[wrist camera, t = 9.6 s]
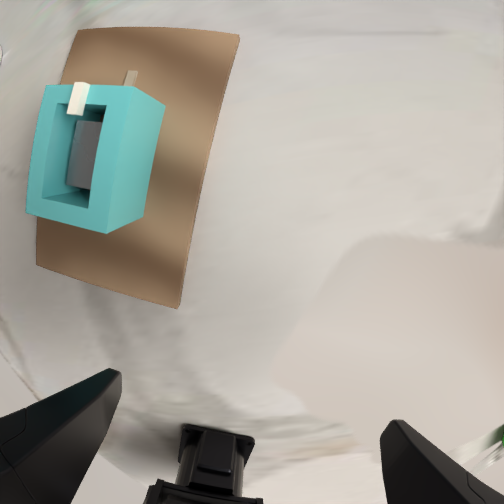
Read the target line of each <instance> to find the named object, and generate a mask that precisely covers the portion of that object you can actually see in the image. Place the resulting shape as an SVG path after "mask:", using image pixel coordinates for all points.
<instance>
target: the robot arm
mask: <svg viewBox="0 0 504 504" xmlns="http://www.w3.org/2000/svg"><path fill="white" fill-rule="evenodd" d="M121 393H122V375H121V372H119V371H117V370H114V369H111V368H108V369H106V370H104V371H102V372H99V373H97V374H95V375H93V376H91V377H89V378H87V379H85V380H83V381H81V382H79V383H77V384H75V385H73V386H71V387H68V388H66V389H64V390H62V391H60V392H58V393H56V394H54V395H51V396H49V397H47V398H45V399H43V400H41V401H38V402H36V403H34V404H32V405H30V406H28V407H27V408H23V409H21V410H19V411H16V412H14V413H11V414H9V415H6V416H4V417H1V418H0V504H71V502H72V500H73V498H74V496H75V494H76V492H77V490H78V488H79V486H80V484H81V482H82V480H83V478H84V476H85V474H86V472H87V470H88V468H89V466H90V464H91V462H92V460H93V459H94V457H95V455H96V453H97V451H98V449H99V447H100V445H101V443H102V442H103V440H104V438H105V436H106V434H107V431H108V428H109V426H110V423H111V420H112V418H113V415H114V413H115V410H116V407H117V405H118V402H119V400H120V397H121ZM254 445H255V440H254V439H253V438H251V437H245V436H239V435H234V434H228V433H223V432H218V431H214V430H209V429H205V428H200V427H196V426H192V425H184V427H183V431H182V437H181V444H180V450H179V457H178V462H179V463H180V466H179V470H178V474H177V478H176V482H175V484H173V483H169V482H165V481H164V480H161V479H157V482H156V484H155V485H150V486H149V488H148V492H147V495H146V498H145V500H144V503H143V504H263V498H246V497H242V486H243V470H244V467H245V465H246V463H247V461H248V459H249V456H250V454H251V452H252V449H253V447H254ZM380 449H381V460H382V473H383V480H384V486H385V492H386V498H387V504H504V496H503V495H502V494H500V493H499V492H497V491H495V490H494V489H492V488H490V487H489V486H487V485H486V484H484V483H483V482H481V481H480V480H478V479H477V478H476V477H474V476H473V475H472V474H470V473H469V472H468V471H466V470H465V469H464V468H463V467H461V466H460V465H459V464H457V463H456V462H455V461H454V460H452V459H451V458H450V457H449V456H447V455H446V454H445V453H443V452H442V451H441V450H440V449H438V448H437V447H436V446H435V445H433V444H432V443H431V442H430V441H428V440H427V439H426V438H425V437H423V436H422V435H421V434H420V433H418V432H417V431H416V430H415V429H413V428H412V427H411V426H410V425H408V424H407V423H406V422H405V421H404V420H392V421H390V423H389V424H388V426H387V427H386V429H385V430H384V431H383V433H382V434H381V437H380Z"/></svg>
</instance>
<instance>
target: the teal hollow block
mask: <svg viewBox="0 0 504 504" xmlns="http://www.w3.org/2000/svg"><path fill="white" fill-rule="evenodd" d="M165 107H166V106H165V105H164V104H162V103H160V102H159V101H157V100H156V99H154V98H152V97H151V96H149V95H147V94H146V93H144V92H143V91H141V90H139V89H138V88H136V87H134V86H117V85H90V84H88V83H85V82H75V83H74V85H46V88H45V91H44V95H43V99H42V103H41V107H40V112H39V116H38V121H37V126H36V131H35V136H34V142H33V148H32V154H31V161H30V169H29V177H28V187H27V198H26V213H28V214H32V215H35V216H39V217H43V218H47V219H50V220H54V221H58V222H62V223H66V224H70V225H74V226H77V227H81V228H85V229H89V230H93V231H97V232H101V233H105V234H107V233H109V232H111V231H114V230H116V229H118V228H120V227H122V226H124V225H127V224H129V223H131V222H133V221H135V220H138V219H140V218H142V217H143V214H144V208H145V202H146V196H147V190H148V185H149V179H150V174H151V169H152V164H153V159H154V154H155V150H156V145H157V140H158V136H159V132H160V127H161V123H162V119H163V115H164V111H165ZM101 115H104V119H103V124H102V128H101V133H100V138H99V143H98V148H97V153H96V158H95V164H94V170H93V176H92V183H91V190H87V189H85V188H80V187H75V186H70V185H66V181H67V174H68V167H69V161H70V155H71V149H72V144H73V139H74V134H75V129H76V124H77V120H82V121H93V122H100V118H101Z"/></svg>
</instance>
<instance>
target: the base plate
mask: <svg viewBox="0 0 504 504" xmlns="http://www.w3.org/2000/svg"><path fill="white" fill-rule="evenodd" d="M239 41H240V37H239V35H237V34H230V33H223V32H215V31H207V30H197V29H185V28H168V27H112V28H96V29H84V30H78V32H77V34H76V37H75V39H74V42H73V45H72V48H71V50H70V53H69V56H68V59H67V62H66V65H65V68H64V72H63V75H62V78H61V82H60V85H74V83H75V82H85V83H88V84H90V85H117V86H134V87H136V88H138V89H139V90H141V91H143V92H144V93H146V94H147V95H149V96H151V97H152V98H154V99H156V100H157V101H159V102H160V103H162V104H164V105H165V106H166V107H165V111H164V115H163V119H162V123H161V127H160V132H159V136H158V140H157V145H156V150H155V154H154V159H153V164H152V169H151V174H150V179H149V185H148V190H147V196H146V202H145V208H144V214H143V217H142V218H140V219H138V220H135V221H133V222H131V223H129V224H127V225H124V226H122V227H120V228H118V229H116V230H114V231H111V232H109V233H107V234H105V233H101V232H97V231H93V230H89V229H85V228H81V227H77V226H74V225H70V224H66V223H62V222H58V221H54V220H50V219H47V218H43V217H39V216H37V239H36V265H38V266H41V267H43V268H46V269H49V270H52V271H55V272H57V273H60V274H63V275H66V276H69V277H72V278H75V279H78V280H81V281H84V282H87V283H90V284H93V285H96V286H99V287H102V288H106V289H109V290H112V291H115V292H119V293H122V294H125V295H129V296H132V297H135V298H139V299H142V300H146V301H149V302H153V303H156V304H160V305H164V306H167V307H171V308H175V309H177V308H178V306H179V305H180V300H181V294H182V288H183V282H184V276H185V270H186V265H187V259H188V254H189V248H190V243H191V238H192V232H193V227H194V222H195V217H196V212H197V207H198V203H199V198H200V193H201V189H202V184H203V179H204V175H205V170H206V166H207V162H208V157H209V153H210V149H211V145H212V141H213V137H214V132H215V128H216V124H217V120H218V117H219V113H220V109H221V105H222V101H223V97H224V94H225V90H226V86H227V83H228V79H229V76H230V72H231V68H232V65H233V62H234V58H235V55H236V51H237V48H238V45H239ZM103 119H104V115H101V118H100V122H103ZM87 190H90V189H87Z"/></svg>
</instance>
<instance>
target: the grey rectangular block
mask: <svg viewBox="0 0 504 504" xmlns="http://www.w3.org/2000/svg"><path fill="white" fill-rule="evenodd" d="M102 124H103V122H93V121H82V120H77V124H76V129H75V134H74V139H73V144H72V149H71V155H70V161H69V167H68V174H67V181H66V185H70V186H75V187H80V188H85V189H90V190H91V183H92V176H93V170H94V164H95V158H96V153H97V148H98V143H99V138H100V133H101V128H102Z"/></svg>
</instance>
